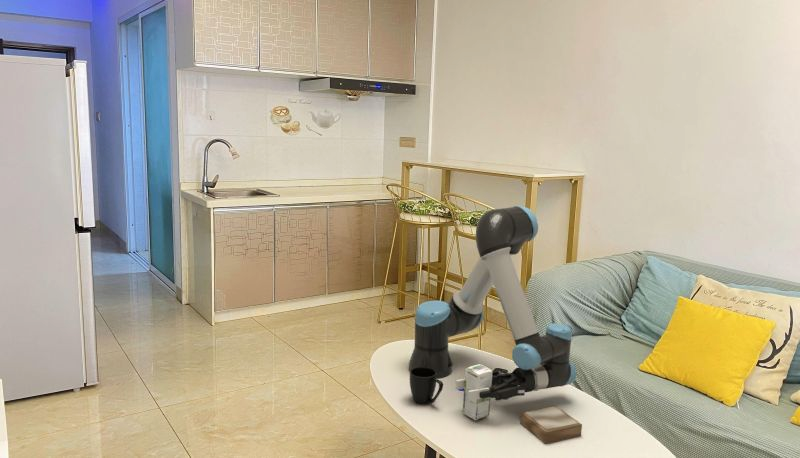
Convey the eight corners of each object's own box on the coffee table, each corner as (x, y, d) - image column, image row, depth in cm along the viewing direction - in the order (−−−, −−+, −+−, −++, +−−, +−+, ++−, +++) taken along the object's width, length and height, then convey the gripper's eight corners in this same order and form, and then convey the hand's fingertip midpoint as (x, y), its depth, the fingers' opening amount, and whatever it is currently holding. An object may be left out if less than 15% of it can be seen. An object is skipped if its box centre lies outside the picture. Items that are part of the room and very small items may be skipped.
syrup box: (476, 408, 182) (478, 362, 179) (490, 416, 177) (492, 369, 175) (462, 413, 179) (464, 367, 176) (475, 421, 174) (478, 374, 171)
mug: (430, 414, 179) (431, 384, 177) (403, 399, 188) (404, 370, 186) (449, 406, 184) (451, 377, 182) (423, 392, 193) (423, 364, 191)
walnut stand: (520, 423, 175) (521, 411, 174) (554, 416, 179) (555, 404, 179) (545, 444, 164) (546, 431, 163) (581, 436, 169) (582, 423, 168)
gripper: (547, 404, 175) (478, 418, 166) (510, 377, 193) (446, 388, 184) (549, 380, 174) (480, 392, 165) (512, 355, 191) (447, 364, 183)
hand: (462, 390), depth 174 cm, fingers closed on syrup box, 6 cm apart
